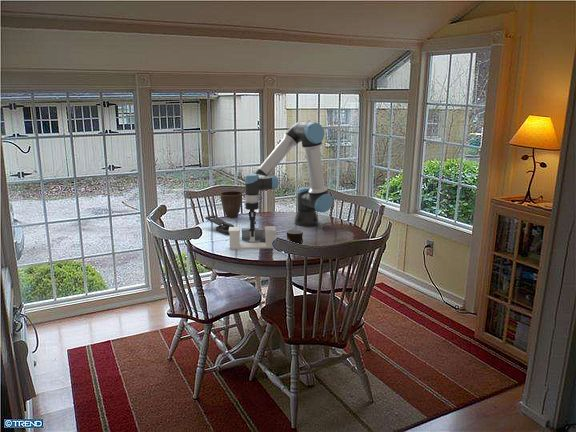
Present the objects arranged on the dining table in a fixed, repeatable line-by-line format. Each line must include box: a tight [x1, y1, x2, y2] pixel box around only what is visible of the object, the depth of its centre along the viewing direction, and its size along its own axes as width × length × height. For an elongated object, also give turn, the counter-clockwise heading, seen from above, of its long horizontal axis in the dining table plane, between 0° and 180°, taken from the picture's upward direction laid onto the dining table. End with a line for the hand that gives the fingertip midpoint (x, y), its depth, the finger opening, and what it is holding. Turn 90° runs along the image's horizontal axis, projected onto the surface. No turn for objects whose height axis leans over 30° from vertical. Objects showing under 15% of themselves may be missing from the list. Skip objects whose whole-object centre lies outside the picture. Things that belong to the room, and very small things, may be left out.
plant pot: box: [219, 190, 244, 219], centre depth 326 cm, size 15×15×16 cm
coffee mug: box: [286, 228, 304, 245], centre depth 256 cm, size 12×9×10 cm
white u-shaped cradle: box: [229, 225, 277, 250], centre depth 263 cm, size 25×8×10 cm, turn 94°
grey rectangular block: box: [241, 227, 264, 241], centre depth 277 cm, size 12×4×6 cm, turn 93°
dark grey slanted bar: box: [204, 214, 235, 236], centre depth 295 cm, size 9×7×25 cm
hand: (252, 238), depth 278 cm, fingers open, 13 cm apart
